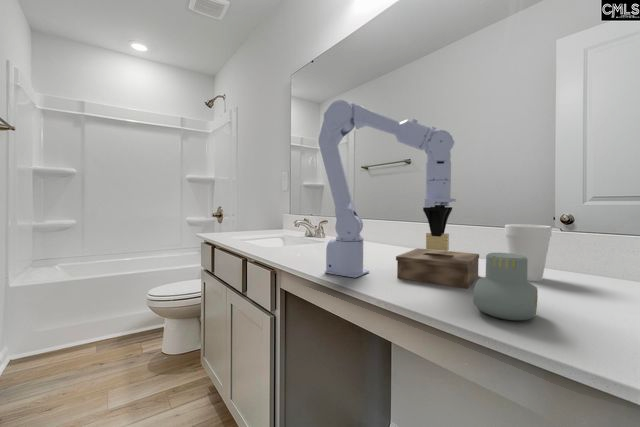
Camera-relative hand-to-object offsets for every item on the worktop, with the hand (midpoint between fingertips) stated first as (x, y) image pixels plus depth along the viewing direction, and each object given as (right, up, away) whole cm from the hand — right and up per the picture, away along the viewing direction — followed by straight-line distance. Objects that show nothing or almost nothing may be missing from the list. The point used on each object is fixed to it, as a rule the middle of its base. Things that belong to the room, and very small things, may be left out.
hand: (437, 235), depth 75 cm
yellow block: (0, -3, 0) cm, 3 cm away
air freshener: (+2, -12, -24) cm, 27 cm away
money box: (+1, -10, +1) cm, 10 cm away
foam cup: (+22, -11, 0) cm, 25 cm away
